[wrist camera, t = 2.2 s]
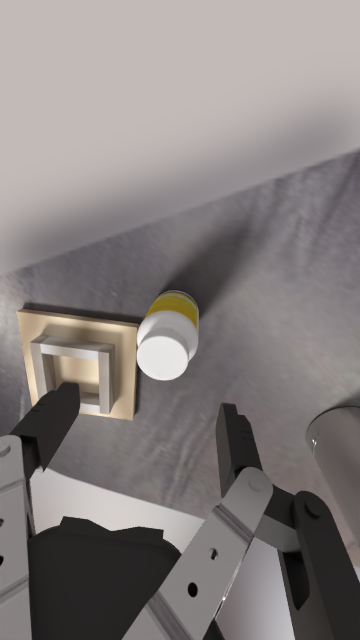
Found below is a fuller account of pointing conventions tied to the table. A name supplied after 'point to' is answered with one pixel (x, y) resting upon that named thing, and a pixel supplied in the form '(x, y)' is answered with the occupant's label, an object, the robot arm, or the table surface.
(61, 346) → the socket stand
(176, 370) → the supplement bottle
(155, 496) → the table surface
